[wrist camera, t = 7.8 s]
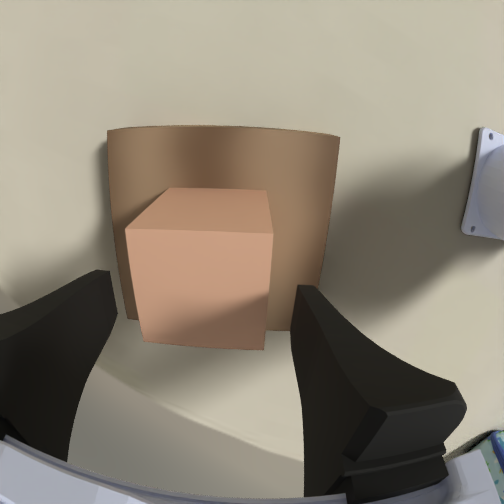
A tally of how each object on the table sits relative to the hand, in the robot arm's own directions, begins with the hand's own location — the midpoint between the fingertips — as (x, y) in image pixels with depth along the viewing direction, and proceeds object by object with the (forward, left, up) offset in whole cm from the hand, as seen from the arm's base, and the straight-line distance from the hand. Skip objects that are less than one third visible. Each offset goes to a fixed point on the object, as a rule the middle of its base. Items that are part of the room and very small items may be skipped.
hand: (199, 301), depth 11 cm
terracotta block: (0, 0, -6) cm, 6 cm away
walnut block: (0, 0, -9) cm, 9 cm away
